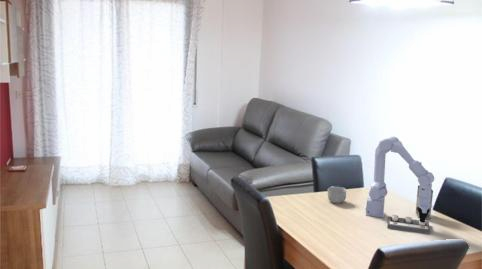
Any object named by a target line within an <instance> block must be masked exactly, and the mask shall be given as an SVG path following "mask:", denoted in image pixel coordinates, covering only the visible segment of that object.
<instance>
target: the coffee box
mask: <svg viewBox="0 0 482 269" xmlns="http://www.w3.org/2000/svg"><path fill="white" fill-rule="evenodd" d="M419 186H420V184H419V185H417V191H416V192H417V193H416V203H415V214H416V216H417V218H418V219H420V218H419V212H418V209H417V207H418V206H417V204H418V196H419ZM433 196H434V190H433V189H432V190H431V200H430V205H432V204H433V198H434V197H433ZM432 206H433V205H432ZM429 210H430V212H429V213H428V215H427V217H426V220H431V213H432V207H430V208H429Z"/></svg>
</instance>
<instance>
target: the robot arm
mask: <svg viewBox="0 0 482 269" xmlns="http://www.w3.org/2000/svg"><path fill="white" fill-rule="evenodd" d="M374 151H375V153H374V170H373V171H374V172H373V182H372V183H371V185H370V189H369V192H368V196H369V197H366V206H365V216H368V217H378V218H384V217H385V212H384V211H385V197H386V196H387V195H388V190H387V184H386V183H385V174H386V173H385V172H386V157H387V156H386V154H388V152H391V153H397V154H398V155H399V156H400V157H401V158H402V159H403V160H404V161H405V162H406V163H407V164H408V168H409V170H410V171H411V172H412V173H413V175H414V176H416V178H417V181H418V183H419V196H418V204H417V206H418V207H417V209H418V212H419V218H418V219H419V220H420V222H425V221H427V219H426V217H427V215H428V213H429V212H430V210H429V208H430V207H431V208H433V205H430V200H431V190H433V189H432V188H433V187H432V186H433V183H434V181H435V175H434V174H433V172H430V171H429V170H427V169H426V168H425V167H424V166H423V165H422V162H421V161H418V160H415V159H414V158H413V156H412V155H411V154H410V153H409V151H408V150H407V148H405V146H404V145H403V143H402V142H401V140H399V138H398V137H396V136H391V137H388V138H383V139H381V140H380V141H379V143H378V144H377V147H376V148H375V150H374Z"/></svg>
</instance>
